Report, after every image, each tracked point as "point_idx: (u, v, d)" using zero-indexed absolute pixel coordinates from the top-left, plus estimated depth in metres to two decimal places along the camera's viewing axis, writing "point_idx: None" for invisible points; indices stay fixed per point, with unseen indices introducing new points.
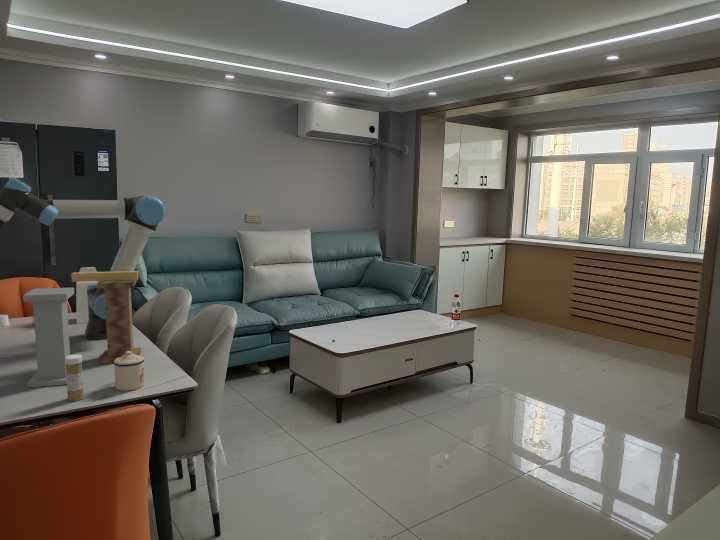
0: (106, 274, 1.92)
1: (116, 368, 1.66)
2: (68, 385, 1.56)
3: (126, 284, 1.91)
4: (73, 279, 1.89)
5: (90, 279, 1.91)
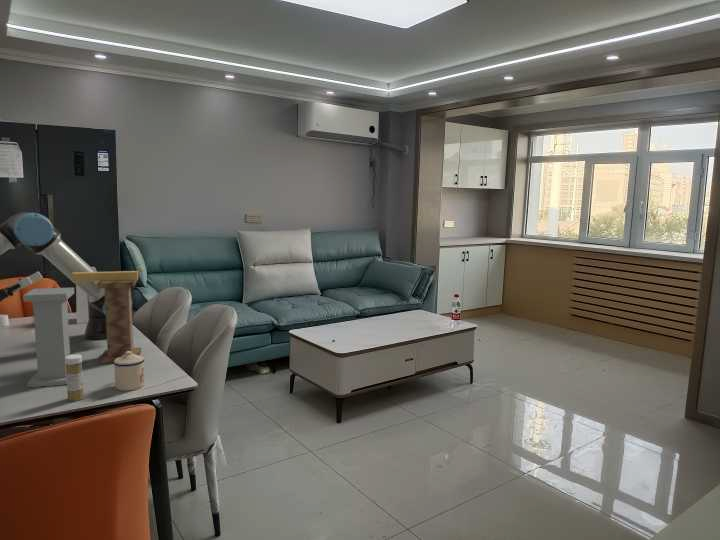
0: (106, 274, 1.92)
1: (116, 368, 1.66)
2: (68, 385, 1.56)
3: (126, 284, 1.91)
4: (73, 279, 1.89)
5: (90, 279, 1.91)
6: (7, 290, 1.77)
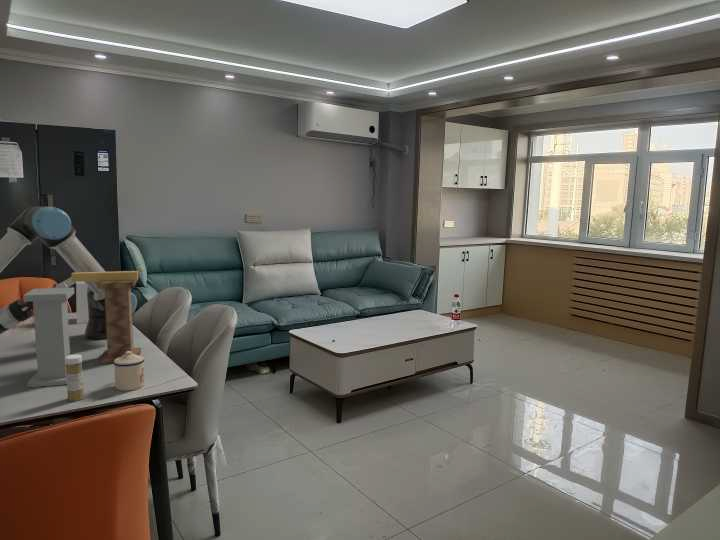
0: (106, 274, 1.92)
1: (116, 368, 1.66)
2: (68, 385, 1.56)
3: (126, 284, 1.91)
4: (73, 279, 1.89)
5: (90, 279, 1.91)
6: None
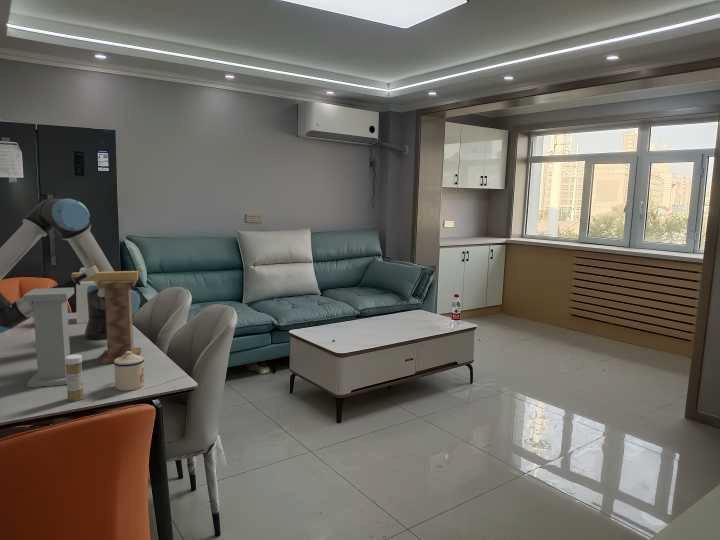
0: (106, 274, 1.92)
1: (116, 368, 1.66)
2: (68, 385, 1.56)
3: (126, 284, 1.91)
4: None
5: (90, 279, 1.91)
6: (75, 280, 1.87)
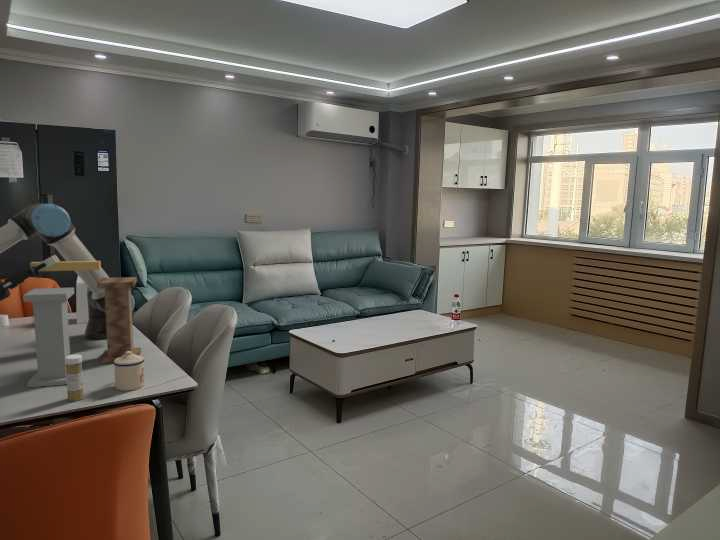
0: (67, 264, 1.88)
1: (116, 368, 1.66)
2: (68, 385, 1.56)
3: (126, 284, 1.91)
4: None
5: (50, 269, 1.86)
6: (33, 269, 1.82)
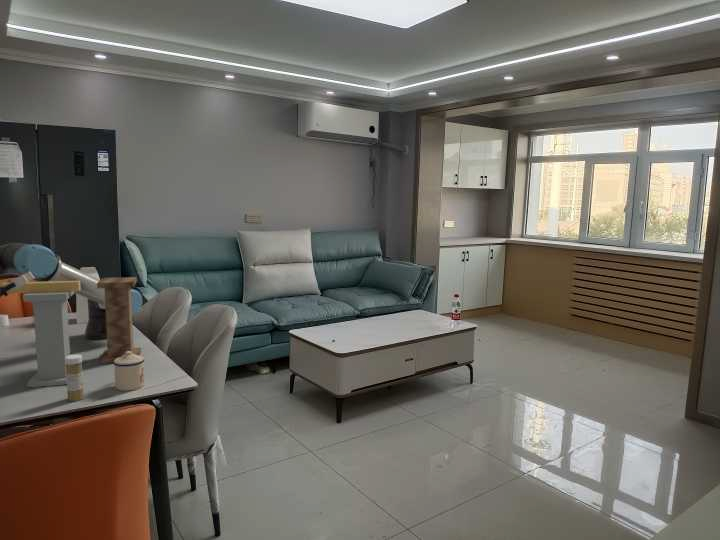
0: (42, 285, 1.69)
1: (116, 368, 1.66)
2: (68, 385, 1.56)
3: (126, 284, 1.91)
4: None
5: (23, 290, 1.67)
6: (1, 290, 1.62)
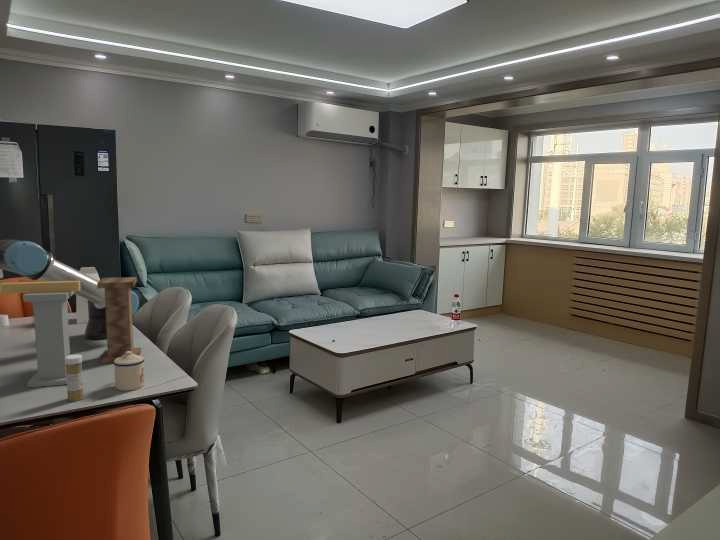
0: (42, 285, 1.69)
1: (116, 368, 1.66)
2: (68, 385, 1.56)
3: (126, 284, 1.91)
4: (3, 290, 1.65)
5: (23, 290, 1.67)
6: None
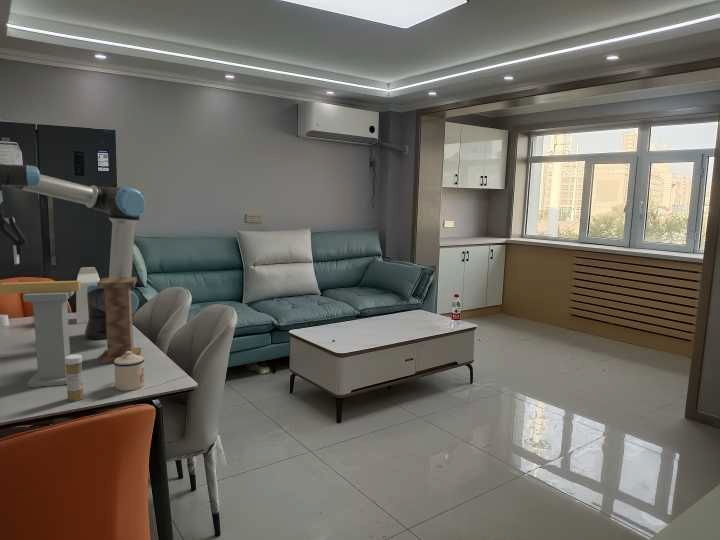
0: (42, 285, 1.69)
1: (116, 368, 1.66)
2: (68, 385, 1.56)
3: (126, 284, 1.91)
4: (3, 290, 1.65)
5: (23, 290, 1.67)
6: None
